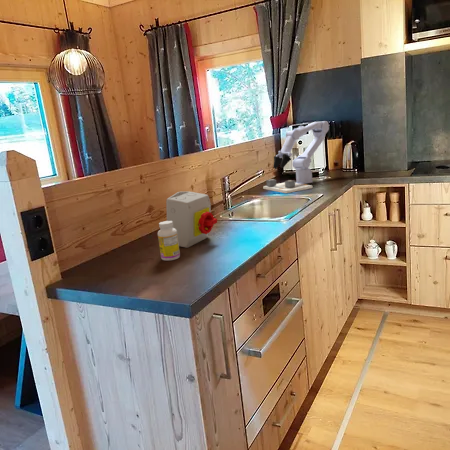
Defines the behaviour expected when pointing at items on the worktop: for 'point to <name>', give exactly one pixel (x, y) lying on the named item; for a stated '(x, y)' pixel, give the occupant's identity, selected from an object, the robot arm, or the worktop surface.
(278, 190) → the panel
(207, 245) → the worktop surface
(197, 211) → the electrical switch box
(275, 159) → the robot arm
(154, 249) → the worktop surface
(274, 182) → the slider
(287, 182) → the slider
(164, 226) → the supplement bottle
